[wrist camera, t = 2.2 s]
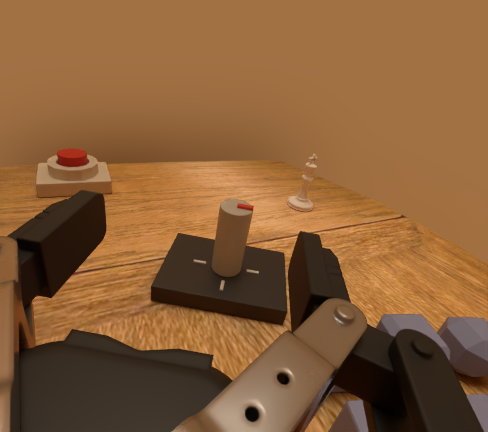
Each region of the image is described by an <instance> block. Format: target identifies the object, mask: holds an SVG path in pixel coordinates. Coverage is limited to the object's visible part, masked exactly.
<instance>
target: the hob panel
mask: <svg viewBox="0 0 488 432" xmlns="http://www.w3.org/2000/svg"><path fill="white" fill-rule="evenodd" d="M214 245H215V240H213V239H208V238H202V237H197V236H192V235H186V234H181V233H178V235H177V237H176V239H175V240H174V242H173V244H172V246H171V248H170V250H169V252H168V254H167V256H166V258H165V260H164V262H163V264H162V266H161V268H160V270H159V272H158V274H157V276H156V278H155V280H154V282H153V284H152V286H151V300H153V301H158V302H164V303H169V304H175V305H180V306H185V307H191V308H196V309H201V310H207V311H212V312H217V313H223V314H228V315H233V316H239V317H244V318H250V319H255V320H260V321H266V322H271V323H276V324H282V325H283V323H284V320H285V317H286V314H287V296H286V277H285V257H284V253H282V252H277V251H271V250H266V249H261V248H255V247H250V246H246V247H245V252H244V256H243V261H242V266H241V270H240V272H239V273H238V274H237V275H235V276H232V277H224V276H220V275H218V274H217V273H215V272H214V271H213V269H212V258H213V251H214Z"/></svg>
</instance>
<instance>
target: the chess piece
mask: <svg viewBox="0 0 488 432" xmlns="http://www.w3.org/2000/svg"><path fill="white" fill-rule="evenodd" d="M309 160H310V161H311V162H310V163H307V164H306V174H305V175H303V176H302V178H303V179H305V180H304V182H303V185H302V187H301V189H300V191H299V193H298V195H296V196H291V197H289V198H288V200H287V204H288V205H289V206H290V207H291V208H293V209H295V210H298V211H304V212H307V211H311V210H312V209H313V203H312V202H311V201H310V200H309V199H308V197H307V193H308V187H309V182H310V181H313V180H314V178H313V177H312V176H311V175H312V174H313V172H314V171H315V170H316V168H317V165H315V164H314V161H316V160H318V158H317V157H316V154H313V155H312V157H309Z"/></svg>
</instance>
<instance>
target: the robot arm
mask: <svg viewBox="0 0 488 432" xmlns="http://www.w3.org/2000/svg"><path fill="white" fill-rule="evenodd" d="M105 233H106V215H105V201H104V196H103V194H101V193H97V192H91V191H86V190H80V191H79V192H77V193H76V194H75V195H73V196H72V197H71V198H69V199H65V200H62V201H60V202H57V203H54V204H52V205H50V206H49V207H48V208H46V209H45V210H43V212H42V213H39V214H38V215H36V216H35V218H32V219H31V220H29V221H28V222H26V223H25V224H24V225H22V226H21V227H19V228H18V229H17V230H15V231H14V232H12V233H11V234H10V235H8V236H7V237H5V236H0V432H304V431H305V430H306V428H307V426H308V425H309V423H310V422H311V420H312V419H313V417H314V416H315V415H316V413H317V412H318V410H319V409H320V407H321V406H322V404H323V403H324V401H325V400H326V398H327V397H328V395H329V394H330V392H331V391H332V389H333V388H334V386H335V385H336V386H338V387H340V388H341V389H343V390H345V391H347V392H349V393H351V394H353V395H355V396H357V397H359V398H361V399H362V401H363V406H364V411H365V416H366V421H367V426H368V432H484V430H483V428H482V426H481V424H480V422H479V420H478V418H477V416H476V414H475V412H474V410H473V408H472V406H471V404H470V402H469V400H468V398H467V396H466V394H465V392H464V390H463V388H462V386H461V384H460V382H459V380H458V378H457V376H456V374H455V372H454V370H453V368H452V366H451V364H450V362H449V360H448V358H447V356H446V354H445V352H444V351H443V349H442V348H441V347H440V346H439V345H438V344H437V343H436V342H435V341H434V340H433V339H431V338H430V337H428V336H427V335H425V334H423V333H421V332H419V331H416V330H413V329H402V330H400V331H398V333H397V334H396V336H395V337H394V336H392V335H390V334H387V333H385V332H383V331H380V330H378V329H376V328H374V327H372V326H370V325H369V324H367V320H366V317H365V315H364V314H363V312H362V311H361V310H360V309H359V308H358V307H357V306H355V305H354V304H352V303H351V301H350V298H349V295H348V291H347V288H346V285H345V282H344V278H343V277H342V272H341V269H340V265H339V262H338V258H337V257H336V256H335V255H334V253H333V252H332V251H331V250H330V249H327V248H322V244H321V240H320V236H319V235H318V234H313V233H307V232H302V231H300V232H299V235H298V237H297V241H296V244H295V247H294V250H293V254H292V257H291V260H290V264H289V270H288V283H289V299H290V314H291V330H292V332H291V331H289V330H287V331H285V332H284V333H283V334H282V335H281V336H279V337H278V338H277V339H276V340H275V341H274V342H273V343H272V344H271V345H270V346H269V347H268V348H267V349H266V350H265V351H264V352H263V353H262V354H261V355H260V356H259V357H257V358H256V359H255V360H254V361H253V362H252V363H251V364H250V365H249V366H248V367H247V368H246V369H245V370H244V371H243V372H242V373H241V374H240V375H239V376H238V377H237V378H235V379H234V380H231V379H230V378H229V377H228V376H227V375H225V374H224V373H222V372H221V371H219V370H218V369H216V368H213V367H211V365H212V360H213V355H209V354H204V353H199V352H193V351H188V350H182V349H165V350H145V351H141V350H137V349H134V348H132V347H130V346H128V345H126V344H124V343H122V342H119V341H117V340H115V339H113V338H111V337H109V336H106V335H101V334H95V333H90V332H85V331H79V330H74V329H72V330H71V332H70V333H69V335H68V336H67V337H66V339H65V340H64V341H56V342H50V343H46V344H42V345H38V346H36V342H35V326H34V311H33V304H32V300H33V299H34V298H35V297H36V296H37V295H38V296H43V297H49V298H52V297H53V296H54V295H55V294H56V292H57V291H58V290H59V289H60V288H61V287H62V286H63V285H64V283H65V282H66V281H67V280H68V279H69V278H70V277H71V275H72V274H73V273H74V272H75V271H76V270H77V269H78V268H79V266H80V265H81V264H82V263H83V262H84V261H85V260H86V259H87V257H88V256H89V255H90V254H91V253H92V252H93V251H94V249H95V248H96V247H97V246H98V245H99V244H100V243H101V242H102V240H103V238H104V236H105Z"/></svg>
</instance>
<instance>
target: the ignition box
mask: <svg viewBox="0 0 488 432" xmlns="http://www.w3.org/2000/svg"><path fill="white" fill-rule="evenodd" d="M87 163H88V164H87V165H84V166H80V167H65V166H61V165H59V163H58V156H57V155H56V156H53V157H51V158H50V159H48V160H47V163H38V170H37V178H36V189H37V194H38V197H39V198H40V197H56V196H73V195H75V194H76V193H77V192H79V191H80V190H86V191H91V192H97V193H101V194H106V193H112V185H111V179H110V175H109V172H108V168H107V165H106V162H97V159H96V158H94V157H92V156H90V155H87Z"/></svg>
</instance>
